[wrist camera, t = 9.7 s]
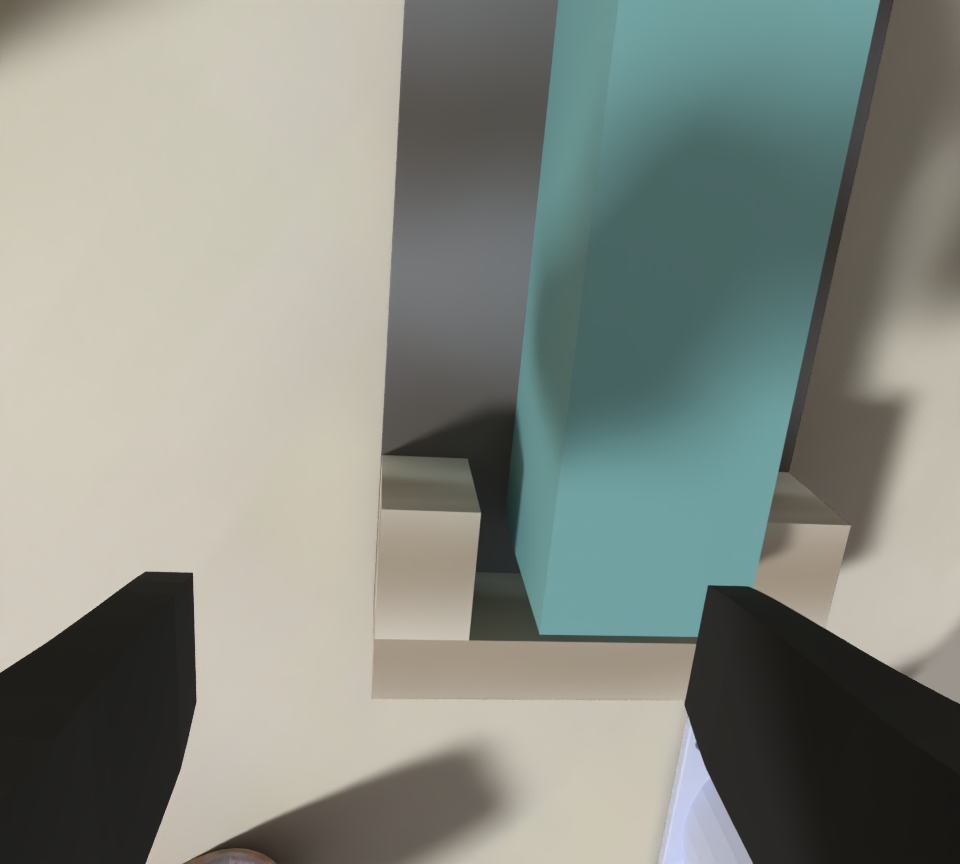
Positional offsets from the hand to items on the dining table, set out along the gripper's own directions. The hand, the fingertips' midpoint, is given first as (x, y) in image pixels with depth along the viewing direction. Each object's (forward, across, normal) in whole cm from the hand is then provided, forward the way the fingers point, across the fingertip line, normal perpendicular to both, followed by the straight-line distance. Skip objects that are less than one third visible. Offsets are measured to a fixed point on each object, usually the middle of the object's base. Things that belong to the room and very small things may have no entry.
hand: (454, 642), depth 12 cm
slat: (+8, -4, -6) cm, 11 cm away
